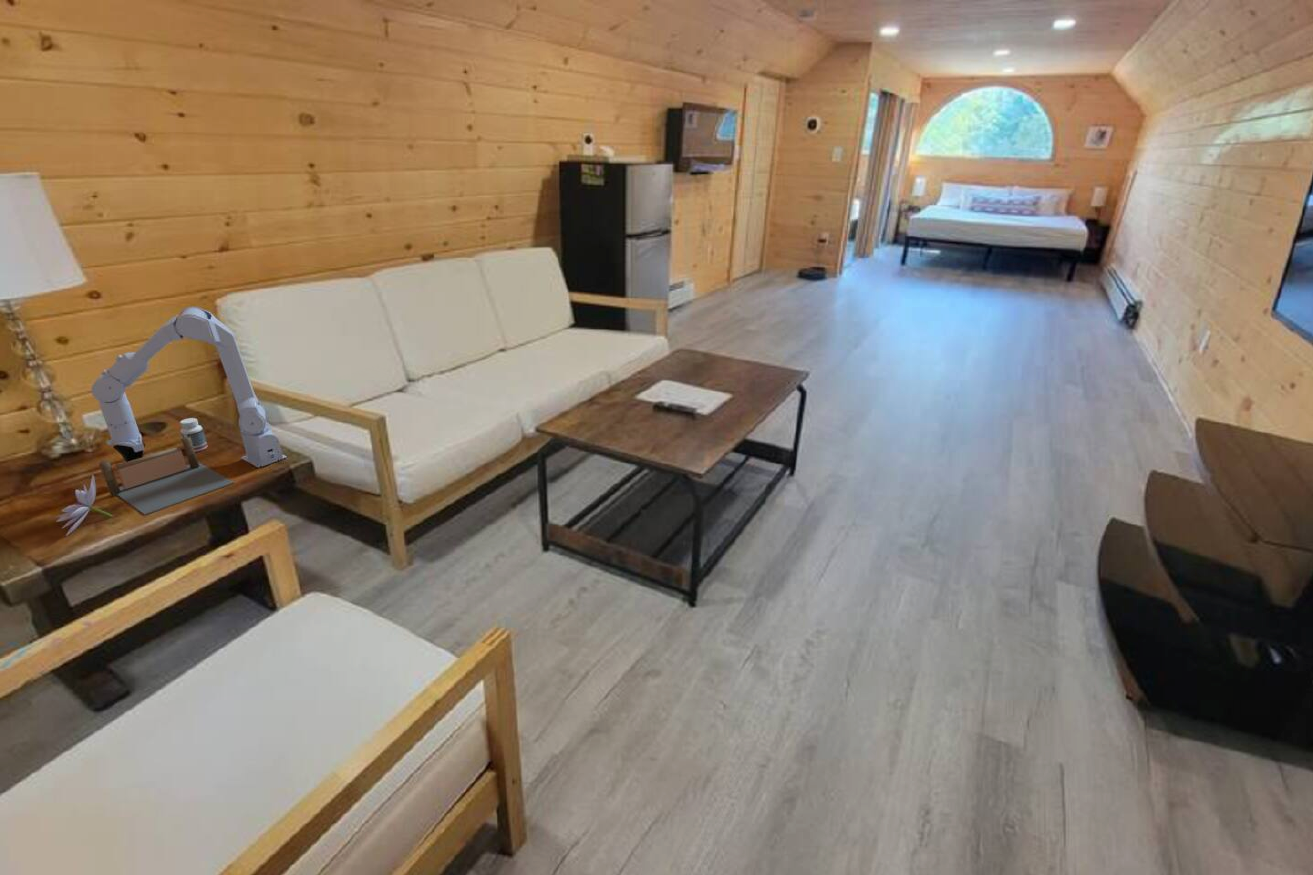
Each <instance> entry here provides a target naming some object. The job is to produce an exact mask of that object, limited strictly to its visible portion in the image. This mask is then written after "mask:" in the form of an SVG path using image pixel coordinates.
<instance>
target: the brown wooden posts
mask: <svg viewBox="0 0 1313 875" xmlns="http://www.w3.org/2000/svg"><path fill="white" fill-rule="evenodd" d="M181 441H182V445H183V448H184V452H185V454H186V458H187V462H188V465H190V468H191V469H196V468H199V464H198V462H199V460H198V458H197V454H196V452H195V450H194V447H193V444H192V440H191V437H185V438H182V437H181ZM98 464H99V467H100V470H101V472H102V476H103V479H104V480H105V483H106V485H107V488H108V491H109V494H110V496H111V497H117V496H118V495H117V494H120V493H121V491H120V489H119V487H120V486H119V484H118V481H117V478H116V475H115V473H114V469H113V468H112V465H111V461H110V460H104V461H100V462H99V463H98ZM118 497H119V496H118Z"/></svg>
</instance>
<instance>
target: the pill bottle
mask: <svg viewBox="0 0 1313 875" xmlns="http://www.w3.org/2000/svg"><path fill="white" fill-rule="evenodd" d="M179 423H180V427H181V429H180V431H179V432H180V435H181V439H182V438H185V437H191V440H192V444H193V447H194V450H195V453H196V452H201V451H203V450H205V449H207V448H208V443H207V439H206V436H205V432H204V428H203V427H202V425H199V421H198V419H197V418H195V417H189V418H185V419H182V420H181V421H180V422H179Z"/></svg>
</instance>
